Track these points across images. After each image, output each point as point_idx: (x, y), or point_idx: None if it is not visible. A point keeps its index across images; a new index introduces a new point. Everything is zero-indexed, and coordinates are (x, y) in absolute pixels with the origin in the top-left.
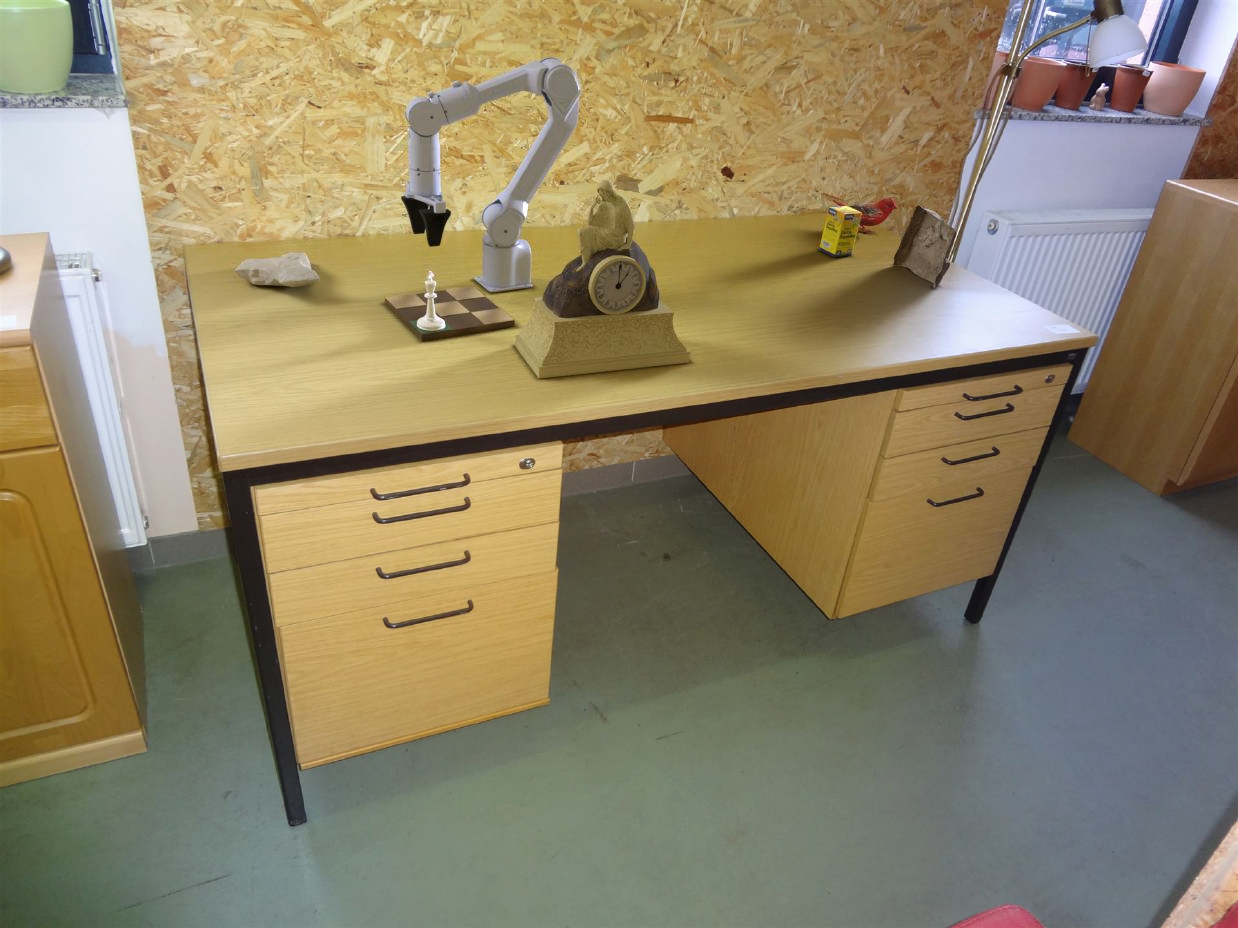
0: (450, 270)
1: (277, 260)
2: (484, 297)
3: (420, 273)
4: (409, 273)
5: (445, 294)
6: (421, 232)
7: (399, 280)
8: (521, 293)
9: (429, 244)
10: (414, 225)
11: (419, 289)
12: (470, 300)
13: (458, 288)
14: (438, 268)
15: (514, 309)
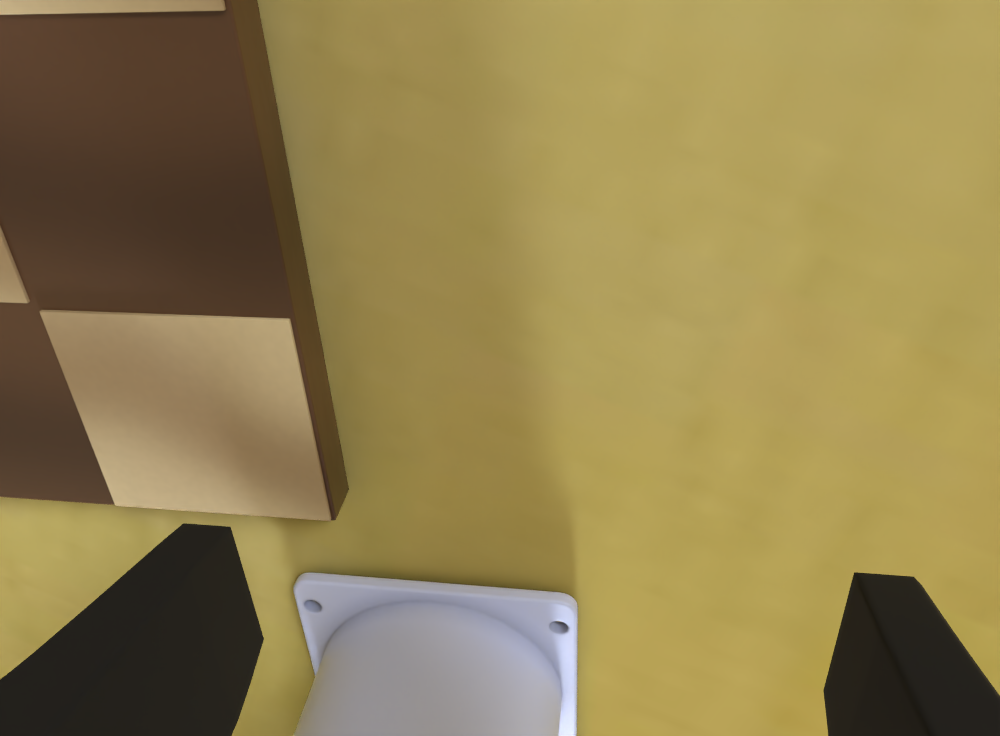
0: (847, 544)
1: None
2: (104, 495)
3: (920, 317)
4: (983, 223)
5: (188, 281)
6: (834, 677)
7: (846, 44)
8: (276, 687)
9: (163, 546)
10: (900, 723)
11: (519, 148)
12: (47, 395)
13: (295, 420)
14: (946, 492)
15: (28, 560)
